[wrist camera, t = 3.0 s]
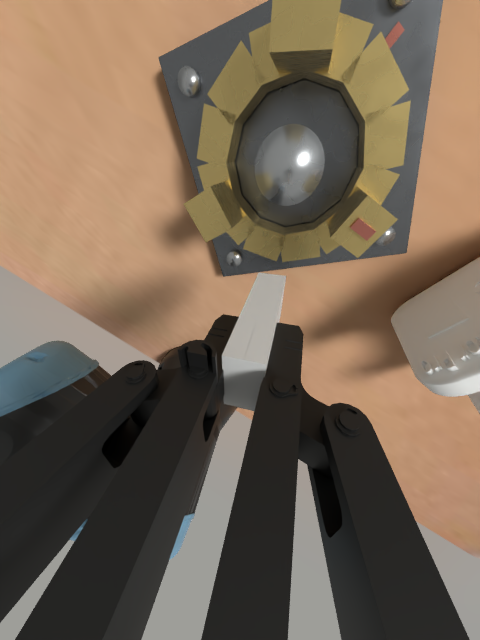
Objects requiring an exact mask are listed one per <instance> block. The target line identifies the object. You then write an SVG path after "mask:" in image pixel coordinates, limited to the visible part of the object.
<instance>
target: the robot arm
mask: <svg viewBox="0 0 480 640" xmlns="http://www.w3.org/2000/svg"><path fill="white" fill-rule="evenodd" d="M285 281H286V276H282V275H274V274H266V273H258V276H257V278H256V280H255V282H254V284H253V287H252V289H251V291H250V293H249V296H248V298H247V300H246V302H245V305H244V307H243V309H242V311H241V314H240V316H239V317H236V316H230V315H224V314H223V315H222V316H221V317H219V318H218V319H216V320H215V322H214V324H213V326H212V328H211V329H210V331H209V333H208V335H207V336H206V338H205V340H194V341H189V342H187V343H185V344H183V345H182V346H181V347H178V348H175V349H173V350H171V351H170V352H168V353H167V355H166V356H165V357H164V359H163V360H162V362H161V363H160V365H159V367H158V370H156V368H155V366H154V365H153V364H152V363H151V362H148V361H144V360H143V361H135V362H132V363H129V364H127V365H126V366H124V367H122V368H121V369H120V370H119V371H117V372H116V373H115V374H114V375H112V376H111V375H110V374H109V373H107V372H106V371H105V370H104V369H103V368H101V367H100V366H99V363H98V362H97V361H96V360H92V359H91V358H89V357H88V356H87V355H85V354H84V353H83V352H81V351H80V350H78V349H77V348H76V347H74V346H73V345H71V344H70V343H67V342H64V341H52V342H48V343H45V344H43V345H41V346H39V347H37V348H35V349H33V350H31V351H30V352H28V353H26V354H24V355H22V356H21V357H19V358H17V359H15V360H13V361H12V362H10V363H8V364H7V365H5V366H3V367H2V368H0V622H1V621H2V620H3V619H4V617H5V616H6V615H7V614H8V613H9V611H10V610H11V609H12V608H13V607H14V605H15V604H16V603H17V602H18V601H19V599H20V598H21V597H22V596H23V595H24V593H25V592H26V591H27V590H28V588H29V587H30V586H31V585H32V584H33V583H34V581H35V580H36V579H37V578H38V577H39V575H40V574H41V573H42V572H43V570H44V569H45V568H46V567H47V566H48V564H49V563H50V562H51V561H52V560H53V558H54V557H55V556H56V555H57V554H58V553H59V551H60V550H61V549H62V548H63V547H64V545H65V544H66V543H67V541H68V540H73V541H75V542H74V544H73V545H72V547H71V548H70V550H69V552H68V553H67V555H66V557H65V558H64V560H63V562H62V563H61V565H60V567H59V568H58V570H57V571H56V573H55V575H54V576H53V578H52V580H51V582H50V583H49V585H48V587H47V588H46V590H45V591H44V593H43V595H42V596H41V598H40V599H39V601H38V603H37V605H36V606H35V608H34V609H33V611H32V613H31V614H30V616H29V618H28V619H27V621H26V623H25V624H24V626H23V627H22V629H21V631H20V633H19V634H18V636H17V637H16V639H15V640H141V638H142V636H143V633H144V630H145V627H146V624H147V621H148V619H149V616H150V613H151V610H152V607H153V604H154V602H155V598H156V596H157V593H158V590H159V587H160V584H161V582H162V579H163V576H164V573H165V570H166V567H167V564H168V562H169V560H170V559H171V558H173V557H174V556H175V555H176V554H177V553H178V551H179V549H180V547H181V546H182V543H183V540H184V538H185V535H186V532H187V530H188V527H189V525H190V522H191V520H192V519H193V517H194V514H195V509H196V506H197V503H198V500H199V497H200V493H201V490H202V486H203V484H204V480H205V477H206V474H207V471H208V467H209V464H210V461H211V458H212V455H213V452H214V448H215V445H216V441H217V438H218V436H219V433H220V430H221V429H222V428H223V426H224V425H225V423H226V422H227V421H228V420H229V418H230V417H231V415H232V414H233V413H234V411H235V410H236V408H237V407H239V408H243V409H248V410H252V411H254V415H253V420H252V424H251V428H250V433H249V437H248V441H247V446H246V450H245V454H244V458H243V463H242V467H241V471H240V476H239V480H238V484H237V488H236V493H235V497H234V502H233V506H232V510H231V514H230V518H229V523H228V527H227V531H226V536H225V540H224V544H223V548H222V553H221V558H220V562H219V566H218V570H217V574H216V579H215V583H214V587H213V591H212V596H211V600H210V604H209V609H208V613H207V617H206V621H205V626H204V630H203V634H202V639H201V640H287V639H288V622H289V605H290V588H291V571H292V553H293V536H294V519H295V502H296V484H297V468H298V459H300V460H301V461H303V462H304V463H306V464H307V465H308V471H309V476H310V481H311V486H312V491H313V496H314V501H315V506H316V511H317V517H318V522H319V527H320V532H321V537H322V542H323V546H324V552H325V557H326V562H327V567H328V572H329V577H330V583H331V588H332V593H333V598H334V603H335V608H336V613H337V618H338V623H339V629H340V634H341V639H342V640H469V637H468V636H467V633H466V631H465V629H464V627H463V624H462V622H461V620H460V618H459V616H458V613H457V611H456V609H455V607H454V605H453V602H452V600H451V598H450V596H449V594H448V591H447V589H446V587H445V585H444V582H443V580H442V578H441V576H440V574H439V571H438V569H437V567H436V565H435V563H434V560H433V559H432V556H431V554H430V552H429V549H428V547H427V545H426V543H425V541H424V538H423V537H422V534H421V532H420V530H419V528H418V525H417V523H416V521H415V519H414V516H413V514H412V512H411V510H410V508H409V505H408V503H407V501H406V499H405V497H404V494H403V492H402V490H401V488H400V486H399V483H398V481H397V479H396V477H395V475H394V472H393V470H392V468H391V466H390V464H389V462H388V459H387V457H386V455H385V453H384V451H383V448H382V446H381V444H380V442H379V440H378V437H377V435H376V433H375V431H374V429H373V426H372V424H371V423H370V421H369V420H368V418H367V417H366V415H365V414H363V413H362V412H361V411H360V410H359V409H357V408H355V407H353V406H351V405H349V404H344V403H337V404H332V405H331V406H327V405H325V404H323V403H321V402H319V401H317V400H316V399H314V398H313V397H311V396H310V395H309V394H308V393H307V392H306V391H305V389H304V388H303V386H302V383H301V364H302V348H303V333H302V331H301V329H300V327H299V326H295V325H289V324H283V323H279V320H280V315H281V308H282V301H283V294H284V288H285Z"/></svg>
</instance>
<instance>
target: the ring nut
mask: <svg viewBox="0 0 480 640" xmlns="http://www.w3.org/2000/svg"><path fill="white" fill-rule="evenodd" d="M340 5H341V0H272V14H271V22H270V23H268V24H266V25H264V26H262V27H260V28H258V29H256V30H254V31H252V32H250V33H249V38H250V44H251V51H252V56H251V55H250V53H249V52H248V50H247V48H246V47H245V45H244V44H243V42H242V41H240V43H239V44H238V46H237V48H236V49H235V51H234V52H233V54H232V56H231V57H230V59H229V60H228V62H227V63H226V65H225V67H224V68H223V70H222V71H221V73H220V75H219V76H218V78H217V79H216V81H215V82H214V84H213V86H212V87H211V89H210V90H209V92H208V96H209V97H210V98H211V100H212V101H213V102H214V104H215V105H216V106H217V108H215V107H213V106H210V105H207V104H204V107H203V115H202V122H201V130H200V137H199V145H198V153H197V159H200V160H202V161H205V162H208V164H204V165H201V166H198V171H199V174H200V178H201V181H202V185H203V188H204V191H203V192H201V193H200V194H198V195H197V196H195V197H194V198H192V199H191V200H189V201H188V202H186V203H185V204H184V206H185V208H186V209H187V211H188V213H189V214H190V216H191V218H192V220H193V221H194V223H195V225H196V226H197V228H198V230H199V232H200V233H201V235H202V237H203V239H204V240H205V242H208V241H210V240H212V239H214V238H216V237H217V236H219V235H221V234H223V233H225V232H227V233H228V234H229V235H230V237H231V238H232V239H233V240H234V241H235V242H236V243H237V245H239V244H240V243H242V242H243V241H244V240H245V239H246V241H245V244H244V248H243V249H245V250H247V251H250V252H253V253H255V254H258V255H261V256H263V257H266V258H269V259H271V260H274V261H277V259H278V257H279V254H280V252H281V256H282V262H287V261H294V260H301V259H309V258H316V257H320V246H321V248H322V249H323V250H324V252H325V253H326V254H328V253H329V252H331V251H332V250H334V249H335V248H337V247H338V246H340V245H341V246H342V247H344V248H345V249H346V250H348V251H349V252H350V253H352V254H353V255H354V256H356V257H357V258H359V257H360V256H361V255H362V254H363V253H364V252H365V251H366V250H367V249H368V248H369V247H370V246H371V245H372V244H373V243H374V242H375V241H376V240H377V239H378V238H379V237H380V236H382V235H383V234H384V233H385V232H386V231H387V230H388V229H389V228H390V227H391V226H392V225H393V224H394V223H395V222H396V221H397V220H398V219H397V218H396V217H394V216H393V215H392V214H391V213H389V212H388V211H387V210H386V209H385V208H383V207H382V206H381V205H382V203H383V201H384V200H385V198H386V196H387V195H388V193H389V192H390V190H391V188H392V187H393V185H394V184H395V182H396V180H397V179H398V177H399V175H400V174H397V173H394V172H391V171H389V170H386V169H389V168H393V167H398V166H402V165H403V164H404V155H405V147H406V138H407V129H408V120H409V112H410V103H411V101H408V102H404V103H401V104H398V105H395V106H392V105H393V104H394V103H395V102H396V101H397V100H399V99H400V98H401V97H402V96H403V95H404V94H405V93H406V92H407V91H408V90H409V88H408V86H407V84H406V82H405V80H404V78H403V76H402V74H401V72H400V69H399V67H398V65H397V63H396V61H395V59H394V57H393V55H392V53H391V51H390V49H389V47H388V45H387V42H386V40H385V38H384V36H383V34H382V32H380V33H379V34H378V35H377V36H376V37H375V39H374V40H373V41H372V42H371V43H370V44H369V45H368V46H367V47H366V48H365V50H364V51H363V49H364V47H365V44H366V42H367V39H368V37H369V34H370V32H371V29H372V27H373V25H374V24H372V23H369V22H366V21H363V20H360V19H357V18H354V17H352V16H349V15H346V14H343V13H340V12H339V11H340ZM362 51H363V52H362ZM303 78H306V79H308V80H311V81H314V82H317V83H320V84H322V85H325V86H328V87H331V88H334V89H336V90H339V91H340V92H341V94H342V96H343V98H344V99H345V101H346V103H347V105H348V106H349V108H350V110H351V112H352V113H353V115H354V117H355V119H356V120H357V122H358V124H359V149H358V168H357V170H356V171H355V173H354V175H353V177H352V179H351V181H350V183H349V185H348V187H347V189H346V191H345V193H344V195H343V197H342V199H341V201H340V202H339V203H337V204H336V205H335V206H334V207H332V208H331V209H330V210H329V211H327V212H326V213H325V214H324V215H322V216H321V217H320V218H318V219H317V220H316V221H315V222H312V223H307V224H301V225H296V226H290V227H283V226H280V225H277V224H275V223H272V222H269V221H267V220H264V219H261V218H260V217H259V216H258V215H257V214H256V213H255V211H254V210H253V209H252V208H251V206H250V205H249V204H248V203H247V201H246V200H245V199H244V198H243V196H242V195H241V190H240V185H239V181H238V176H237V171H236V166H235V158H236V154H237V149H238V145H239V140H240V136H241V131H242V127H243V124H244V123H245V121H246V120H247V119H248V117H249V116H250V115H251V113H252V112H253V111H254V110H255V108H256V107H257V106H258V104H259V103H260V102H261V100H262V99H263V98H264V97H265V95H266V94H267V93H268V92H270V91H272V90H275V89H277V88H280V87H283V86H285V85H288V84H290V83H293V82H296V81H298V80H301V79H303Z"/></svg>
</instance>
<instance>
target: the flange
mask: <svg viewBox="0 0 480 640" xmlns="http://www.w3.org/2000/svg"><path fill="white" fill-rule="evenodd" d="M442 3H443V0H341V5H340V11H339V12H340V13H343V14H346V15H349V16H352V17H354V18H357V19H360V20H363V21H366V22H369V23H372V24H374V25H373V27H372V29H371V32H370V34H369V37H368V39H367V42H366V44H365V47H364V49H363V51H364V50H365V48H366V47H367V46H368V45H369V44H370V43H371V42H372V41H373V40H374V39H375V37H376V36H377V35H378V34H379V33H380V32H382V34H383V36H384V38H385V40H386V42H387V45H388V47H389V49H390V51H391V53H392V55H393V57H394V59H395V61H396V63H397V65H398V67H399V69H400V72H401V74H402V76H403V78H404V80H405V82H406V84H407V86H408V88H409V90H408V91H407V92H406V93H405V94H404V95H403V96H402V97H401V98H400V99H399V100H397V101H396V102H395V103H394V104H393V105H392V106H395V105H398V104H401V103H404V102H408V101H411V103H410V112H409V120H408V129H407V138H406V147H405V155H404V164H403V165H402V166H398V167H393V168H389V169H386V170H389V171H391V172H394V173H397V174H400V175H399V177H398V179H397V180H396V182H395V184H394V185H393V187H392V188H391V190H390V192H389V193H388V195H387V196H386V198H385V200H384V201H383V203H382V205H381V206H382V207H383V208H385V209H386V210H387V211H388V212H389V213H391V214H392V215H393V216H394V217H396V218H397V219H398V220H397V221H396V222H395V223H394V224H393V225H392V226H391V227H390V228H389V229H388V230H387V231H386V232H385V233H384V234H383V235H382V236H380V237H379V238H378V239H377V240H376V241H375V242H374V243H373V244H372V245H371V246H370V247H369V248H368V249H367V250H366V251H365V252H364V253H363V254H362V255H361V256H360V257H359V258H357V257H356V256H354V255H353V254H352V253H350V252H349V251H348V250H346V249H345V248H344V247H342V246H341V245H340V246H338V247H337V248H335V249H334V250H332V251H331V252H329V253H328V254H326V253H325V252H324V250H323V249H322V248H321V246H320V257H316V258H309V259H301V260H294V261H287V262H282V256H281V252H280V254H279V257H278V259H277V261H274V260H271V259H269V258H266V257H263V256H261V255H258V254H255V253H253V252H250V251H247V250H245V249H243V248H244V244H245V241H246V239H245V240H244V241H243V242H242V243H240V244H239V245H237V243H236V242H235V241H234V240H233V239H232V238H231V237H230V235H229V234H228V233H227V232H225V233H223V234H221V235H219V236H217V237H216V238H214V239H212V240H213V244H214V247H215V250H216V254H217V257H218V260H219V264H220V267H221V271H222V274H223V276H231V275H239V274H247V273H255V272H262V271H270V270H278V269H286V268H293V267H301V266H309V265H317V264H325V263H332V262H340V261H348V260H356V259H364V258H371V257H379V256H387V255H395V254H402V253H407V246H408V239H409V232H410V225H411V218H412V211H413V205H414V198H415V191H416V184H417V177H418V170H419V163H420V156H421V149H422V142H423V135H424V128H425V121H426V114H427V107H428V100H429V94H430V87H431V80H432V73H433V66H434V59H435V52H436V45H437V38H438V31H439V24H440V17H441V10H442ZM271 14H272V0H269V1H267V2H265V3H263V4H261V5H259V6H257V7H255V8H253V9H251V10H249V11H247V12H245V13H244V14H242V15H240V16H238V17H236V18H234V19H232V20H230V21H228V22H226V23H224V24H222V25H220V26H218V27H216V28H215V29H213V30H211V31H209V32H207V33H205V34H203V35H201V36H199V37H197V38H195V39H193V40H191V41H189V42H187V43H186V44H184V45H182V46H180V47H178V48H176V49H174V50H172V51H170V52H168V53H166V54H164V55H162V56H160V57H158V58H159V61H160V65H161V68H162V71H163V75H164V78H165V82H166V85H167V88H168V92H169V95H170V98H171V102H172V105H173V109H174V112H175V115H176V119H177V122H178V125H179V129H180V132H181V136H182V139H183V142H184V146H185V149H186V152H187V156H188V159H189V163H190V166H191V169H192V173H193V176H194V179H195V183H196V186H197V190H198V193H199V194H200V193H201V192H203V191H204V188H203V185H202V181H201V178H200V174H199V171H198V166H201V165H204V164H208V162H205V161H202V160H200V159H197V153H198V145H199V137H200V130H201V122H202V115H203V107H204V104H207V105H210V106H213V107H215V108H217V106H216V105H215V104H214V102H213V101H212V100H211V98H210V97H209V96H208V92H209V90H210V89H211V87H212V86H213V84H214V82H215V81H216V79H217V78H218V76H219V75H220V73H221V71H222V70H223V68H224V67H225V65H226V63H227V62H228V60H229V59H230V57H231V56H232V54H233V52H234V51H235V49H236V48H237V46H238V44H239V43H240V41H242V42H243V44H244V45H245V47H246V48H247V50H248V52H249V53H250V55H251V56H252V51H251V44H250V38H249V33H250V32H252V31H254V30H256V29H258V28H260V27H262V26H264V25H266V24H268V23H270V22H271ZM363 51H362V52H363ZM358 149H359V124H358V122H357V120H356V119H355V117H354V115H353V113H352V112H351V110H350V108H349V106H348V105H347V103H346V101H345V99H344V98H343V96H342V94H341V92H340V91H339V90H336V89H334V88H331V87H328V86H325V85H322V84H320V83H317V82H314V81H311V80H308V79H306V78H303V79H301V80H298V81H296V82H293V83H290V84H288V85H285V86H283V87H280V88H277V89H275V90H272V91H270V92H268V93H267V94H266V95H265V97H264V98H263V99H262V100H261V102H260V103H259V104H258V106H257V107H256V108H255V110H254V111H253V112H252V113H251V115H250V116H249V117H248V119H247V120H246V121H245V123H244V124H243V127H242V131H241V136H240V140H239V145H238V149H237V154H236V158H235V166H236V171H237V176H238V181H239V185H240V190H241V195H242V196H243V198H244V199H245V200H246V201H247V203H248V204H249V205H250V206H251V208H252V209H253V210H254V211H255V213H256V214H257V215H258V216H259V217H260V218H261V219H264V220H267V221H269V222H272V223H275V224H277V225H280V226H283V227H290V226H296V225H301V224H307V223H312V222H315V221H316V220H317V219H318V218H320V217H321V216H322V215H324V214H325V213H326V212H327V211H329V210H330V209H331V208H332V207H334V206H335V205H336V204H337V203H339V202H340V201H341V199H342V197H343V195H344V193H345V191H346V189H347V187H348V185H349V183H350V181H351V179H352V177H353V175H354V173H355V171H356V170H357V168H358Z"/></svg>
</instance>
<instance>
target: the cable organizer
mask: <svg viewBox="0 0 480 640" xmlns="http://www.w3.org/2000/svg"><path fill="white" fill-rule="evenodd" d="M391 324H392V326H393V328H394V330H395V332H396V335H397V337H398V339H399V341H400V343H401V346H402V348H403V350H404V352H405V354H406V357H407V359H408V361H409V363H410V365H411V368H412V370H413V372H414V374H415V376H416V378H417V379H418V380H419V381H420V382H421V383H422V384H424V385H425V386H426V387H427V388H428V389H429V390H430V391H432V392H434V393H436V394H438V395H442V396H464V395H468V396H469V398H470V399H471V401H472V402H473V404H474V406H475V407H476V409H477V410H478V412H479V414H480V257H479V258H477V259H475V260H474V261H472V262H470V263H469V264H467V265H465V266H464V267H462V268H460V269H459V270H457V271H456V272H454V273H452V274H451V275H449V276H447V277H446V278H444V279H442V280H441V281H439V282H438V283H436V284H434V285H433V286H431V287H429V288H428V289H426V290H424V291H423V292H421V293H419V294H418V295H416V296H415V297H413V298H411V299H410V300H408V301H406V302H405V303H404V304H402V305H401V306H400V307H399V308H398V309H397V310H396V311H395V312H394V314H393V315H392V318H391Z"/></svg>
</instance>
